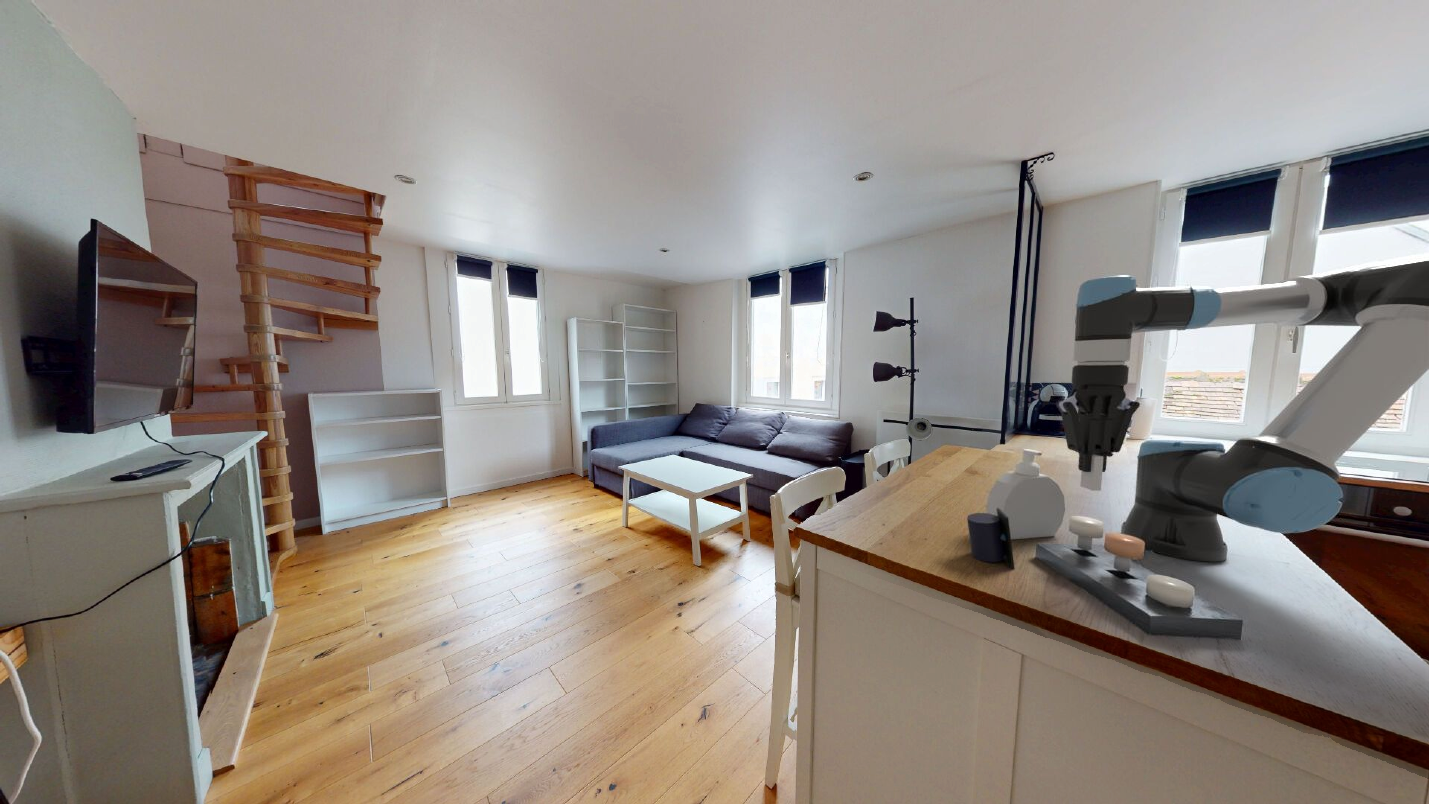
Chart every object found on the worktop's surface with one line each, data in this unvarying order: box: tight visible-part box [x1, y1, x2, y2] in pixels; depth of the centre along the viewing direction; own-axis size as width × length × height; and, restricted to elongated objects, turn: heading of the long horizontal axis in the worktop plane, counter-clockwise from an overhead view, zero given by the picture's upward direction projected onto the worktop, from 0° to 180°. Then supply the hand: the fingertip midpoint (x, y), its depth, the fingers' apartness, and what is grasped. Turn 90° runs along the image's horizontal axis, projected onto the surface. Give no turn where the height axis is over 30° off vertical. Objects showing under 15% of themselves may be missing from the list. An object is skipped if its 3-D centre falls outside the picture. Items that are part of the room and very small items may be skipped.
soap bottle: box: [986, 448, 1066, 541], centre depth 92 cm, size 16×5×20 cm, turn 98°
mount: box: [1035, 542, 1244, 640], centre depth 70 cm, size 12×24×3 cm, turn 174°
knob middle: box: [1103, 532, 1145, 572], centre depth 69 cm, size 5×5×6 cm
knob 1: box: [1068, 515, 1105, 550], centre depth 77 cm, size 5×5×6 cm
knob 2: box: [1146, 574, 1195, 608], centre depth 62 cm, size 5×5×6 cm
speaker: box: [966, 508, 1015, 570], centre depth 82 cm, size 8×6×10 cm
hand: (1090, 488), depth 76 cm, fingers closed
